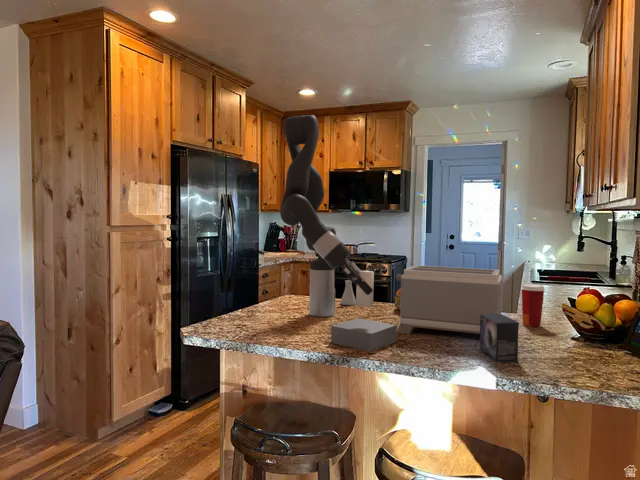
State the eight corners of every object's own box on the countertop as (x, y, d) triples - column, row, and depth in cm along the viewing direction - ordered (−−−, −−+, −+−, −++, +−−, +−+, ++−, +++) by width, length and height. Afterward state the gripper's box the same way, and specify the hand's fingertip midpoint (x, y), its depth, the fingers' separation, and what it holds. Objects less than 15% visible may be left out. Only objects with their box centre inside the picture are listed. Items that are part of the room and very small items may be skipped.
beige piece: (362, 303, 143) (362, 270, 143) (376, 305, 140) (377, 271, 139) (352, 305, 139) (353, 271, 139) (367, 307, 136) (367, 272, 135)
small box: (477, 350, 133) (478, 313, 132) (500, 350, 133) (501, 313, 133) (494, 362, 122) (496, 322, 122) (518, 361, 123) (520, 321, 122)
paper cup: (546, 325, 166) (548, 285, 165) (539, 328, 160) (540, 287, 160) (523, 321, 171) (525, 283, 171) (515, 325, 166) (517, 285, 165)
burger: (422, 315, 180) (423, 289, 179) (388, 311, 187) (389, 286, 186) (432, 310, 192) (433, 285, 191) (400, 306, 198) (401, 282, 198)
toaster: (401, 320, 171) (402, 264, 170) (502, 330, 158) (504, 269, 157) (387, 331, 154) (388, 269, 153) (499, 344, 140) (501, 276, 139)
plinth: (357, 333, 150) (357, 318, 150) (396, 341, 141) (396, 324, 141) (330, 342, 139) (331, 325, 139) (371, 351, 130) (371, 333, 130)
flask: (355, 306, 198) (356, 282, 197) (338, 305, 199) (338, 281, 199) (357, 303, 205) (358, 280, 204) (341, 302, 206) (341, 279, 206)
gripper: (337, 241, 133) (379, 286, 131) (343, 240, 147) (381, 280, 145) (318, 259, 134) (359, 304, 132) (326, 256, 148) (364, 296, 147)
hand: (371, 291), depth 139 cm, fingers closed on beige piece, 5 cm apart
